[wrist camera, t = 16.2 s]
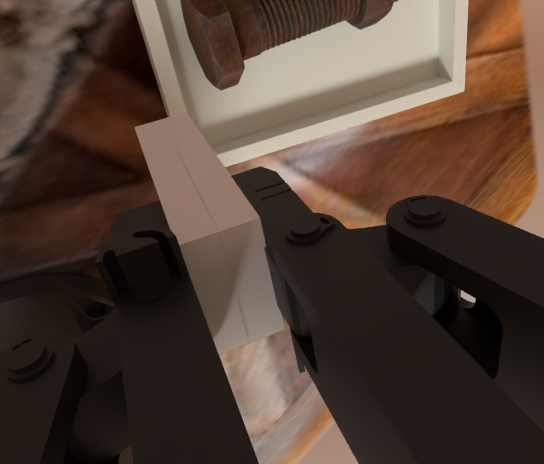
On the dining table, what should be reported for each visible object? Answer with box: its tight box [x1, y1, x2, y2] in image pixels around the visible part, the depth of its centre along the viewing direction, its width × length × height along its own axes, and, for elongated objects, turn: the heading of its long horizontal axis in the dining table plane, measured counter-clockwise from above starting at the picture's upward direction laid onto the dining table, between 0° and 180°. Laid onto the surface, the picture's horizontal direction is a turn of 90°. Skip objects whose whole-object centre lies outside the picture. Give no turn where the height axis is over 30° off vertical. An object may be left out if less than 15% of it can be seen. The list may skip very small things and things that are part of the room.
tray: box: [132, 0, 468, 167], centre depth 30 cm, size 16×21×3 cm
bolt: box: [180, 0, 398, 91], centre depth 29 cm, size 6×5×15 cm
